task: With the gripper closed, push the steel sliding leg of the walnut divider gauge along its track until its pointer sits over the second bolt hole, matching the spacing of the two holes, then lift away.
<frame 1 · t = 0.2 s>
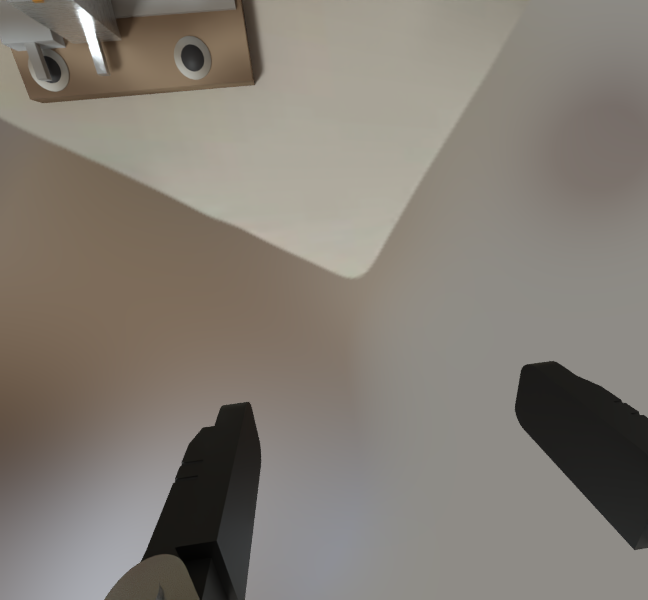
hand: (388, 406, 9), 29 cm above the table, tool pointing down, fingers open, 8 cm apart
divider bench: (130, 14, 27), on the table
divider leg: (64, 1, 23), point 5 cm above the table, slide at 1.5 cm
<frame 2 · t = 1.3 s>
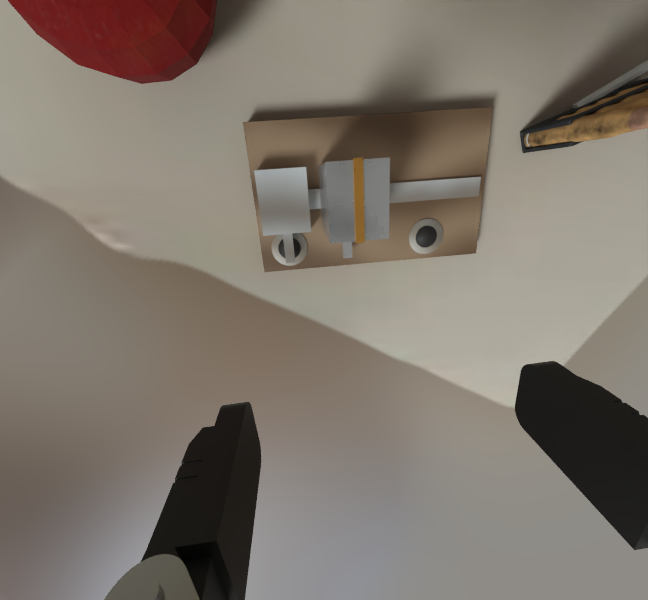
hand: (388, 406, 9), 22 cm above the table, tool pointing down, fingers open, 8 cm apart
ammunition clip: (576, 118, 27), on the table
divider bench: (367, 193, 28), on the table
divider leg: (351, 216, 23), point 5 cm above the table, slide at 1.5 cm
apple: (161, 21, 22), on the table
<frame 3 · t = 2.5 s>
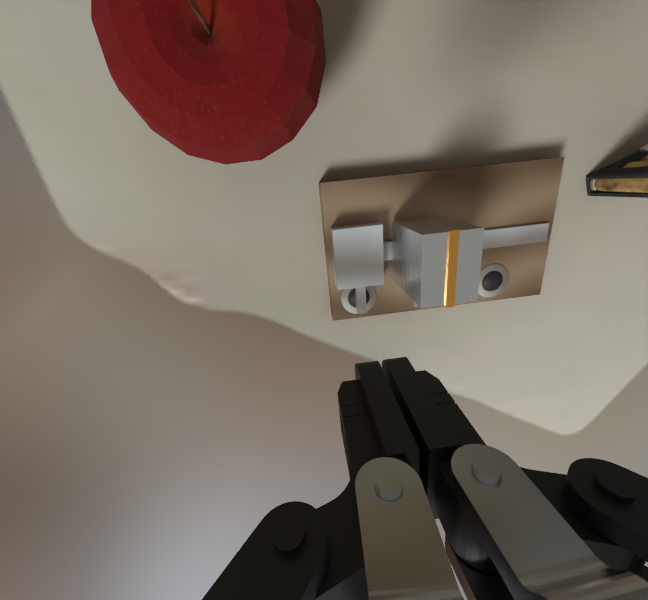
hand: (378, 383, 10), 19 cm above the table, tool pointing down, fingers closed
ammunition clip: (642, 160, 27), on the table
divider bench: (433, 241, 28), on the table
divider leg: (430, 273, 23), point 5 cm above the table, slide at 1.5 cm
apple: (241, 89, 23), on the table
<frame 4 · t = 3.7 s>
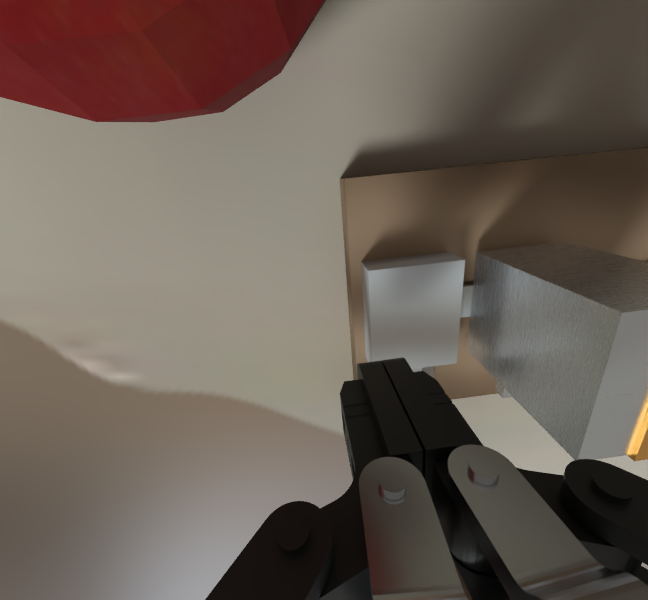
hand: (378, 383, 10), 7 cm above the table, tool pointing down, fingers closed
divider bench: (532, 279, 16), on the table
divider leg: (564, 359, 12), point 5 cm above the table, slide at 1.5 cm
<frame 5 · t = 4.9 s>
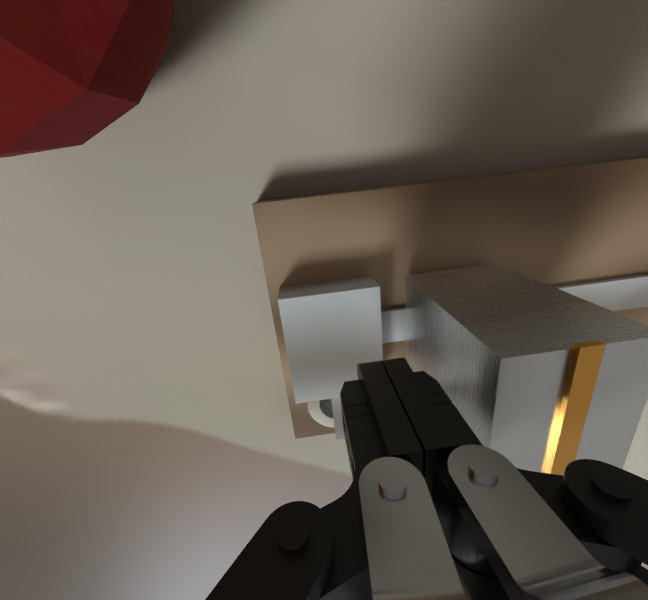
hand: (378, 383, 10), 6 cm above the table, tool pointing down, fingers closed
divider bench: (471, 299, 16), on the table
divider leg: (488, 390, 11), point 5 cm above the table, slide at 1.8 cm, touching gripper
apple: (75, 7, 11), on the table
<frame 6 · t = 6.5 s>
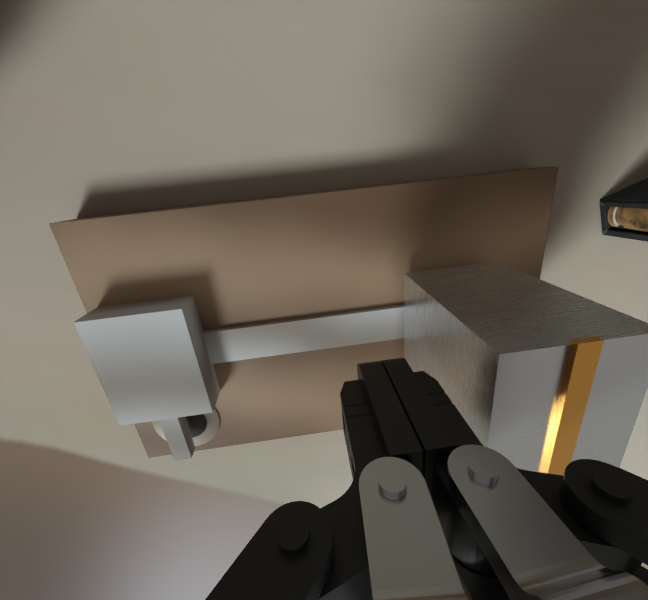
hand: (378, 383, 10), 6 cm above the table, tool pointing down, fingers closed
divider bench: (324, 316, 16), on the table
divider leg: (487, 387, 11), point 5 cm above the table, slide at 9.4 cm, touching gripper
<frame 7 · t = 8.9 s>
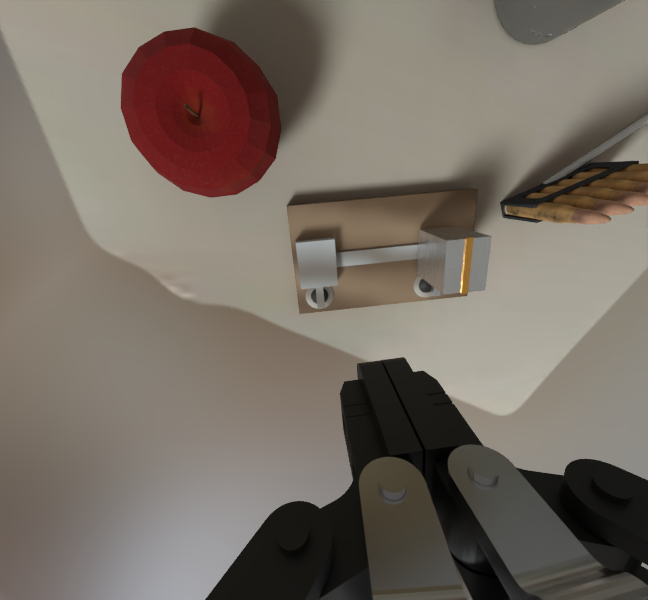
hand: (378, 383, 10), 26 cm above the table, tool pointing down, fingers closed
ammunition clip: (545, 190, 35), on the table
divider bench: (380, 251, 35), on the table
divider leg: (449, 269, 31), point 5 cm above the table, slide at 9.6 cm
apple: (226, 134, 30), on the table
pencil: (602, 144, 34), on the table
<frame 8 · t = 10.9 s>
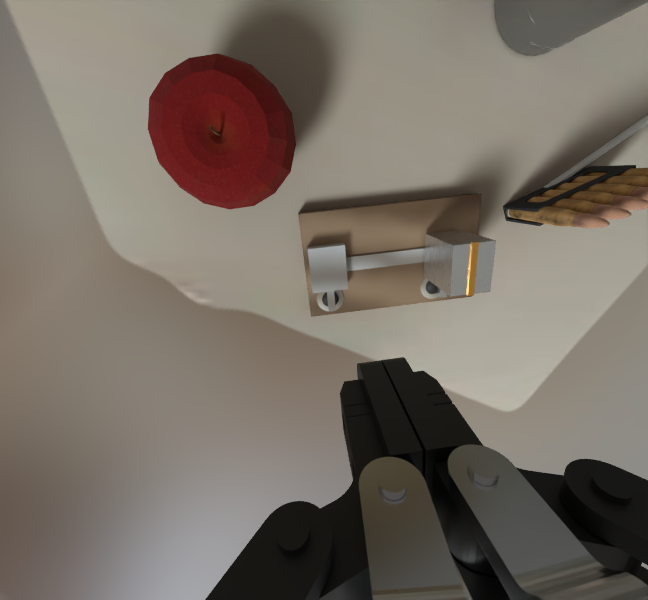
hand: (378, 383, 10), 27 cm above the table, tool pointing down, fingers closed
ammunition clip: (546, 193, 36), on the table
divider bench: (388, 255, 37), on the table
divider leg: (455, 272, 32), point 5 cm above the table, slide at 9.6 cm
apple: (240, 147, 31), on the table
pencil: (601, 148, 35), on the table
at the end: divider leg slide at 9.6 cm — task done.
